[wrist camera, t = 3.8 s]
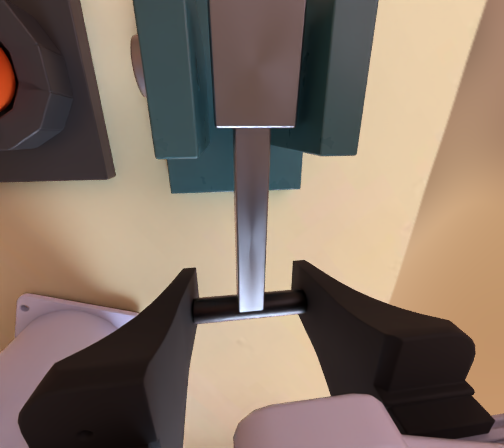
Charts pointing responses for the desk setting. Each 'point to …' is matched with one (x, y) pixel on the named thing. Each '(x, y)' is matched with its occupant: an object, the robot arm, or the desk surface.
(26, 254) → the desk surface
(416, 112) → the desk surface
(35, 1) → the control block
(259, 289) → the lever
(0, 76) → the button
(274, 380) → the desk surface
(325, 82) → the bracket
